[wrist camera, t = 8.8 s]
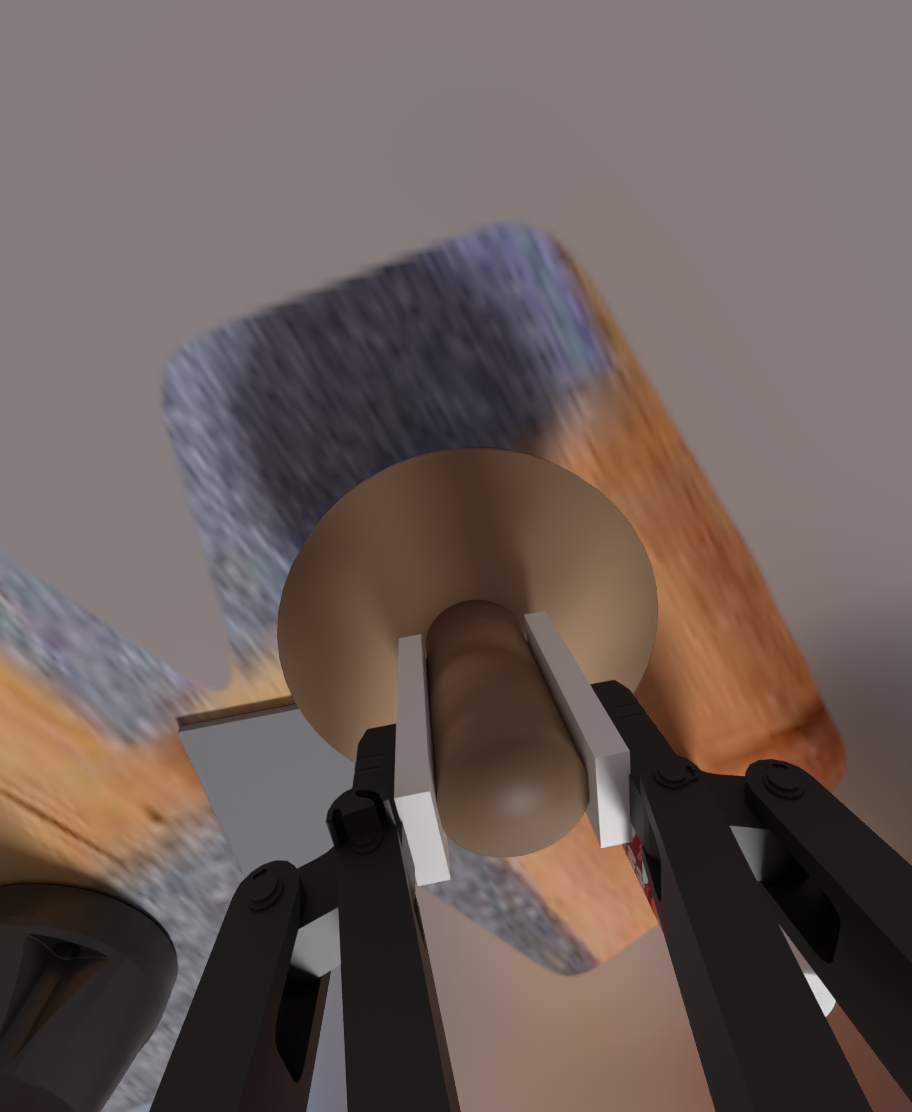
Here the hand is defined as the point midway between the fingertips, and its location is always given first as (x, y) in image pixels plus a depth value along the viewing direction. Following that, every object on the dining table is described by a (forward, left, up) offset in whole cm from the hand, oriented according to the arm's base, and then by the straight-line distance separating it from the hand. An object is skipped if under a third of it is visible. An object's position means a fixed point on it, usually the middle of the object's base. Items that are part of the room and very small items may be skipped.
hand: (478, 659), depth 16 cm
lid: (0, 0, -2) cm, 2 cm away
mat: (-10, -12, -8) cm, 18 cm away
